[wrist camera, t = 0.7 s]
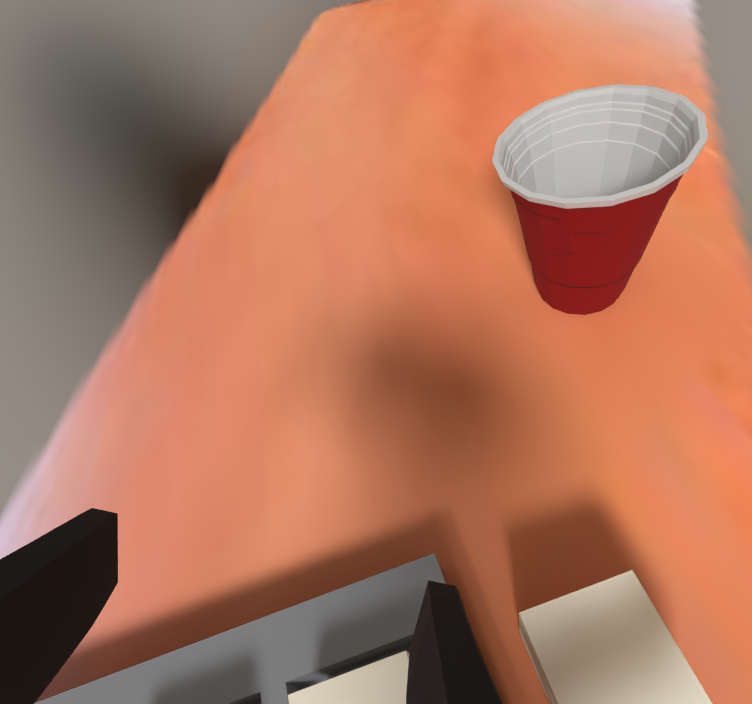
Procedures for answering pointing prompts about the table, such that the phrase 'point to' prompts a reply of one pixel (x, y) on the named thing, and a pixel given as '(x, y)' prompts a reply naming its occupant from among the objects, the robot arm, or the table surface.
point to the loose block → (607, 648)
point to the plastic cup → (595, 184)
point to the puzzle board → (290, 653)
